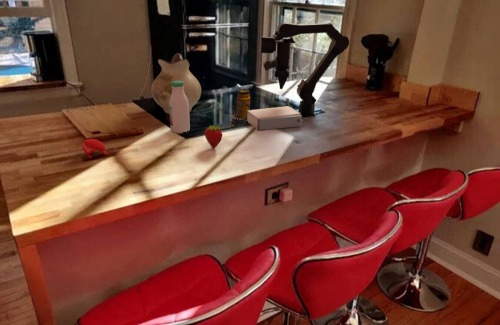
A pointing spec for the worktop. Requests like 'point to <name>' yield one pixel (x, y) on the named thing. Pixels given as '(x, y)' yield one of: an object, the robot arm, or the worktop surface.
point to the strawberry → (213, 135)
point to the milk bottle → (179, 109)
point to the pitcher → (175, 73)
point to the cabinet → (269, 114)
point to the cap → (93, 147)
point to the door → (279, 122)
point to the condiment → (242, 104)
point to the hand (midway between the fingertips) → (281, 89)
